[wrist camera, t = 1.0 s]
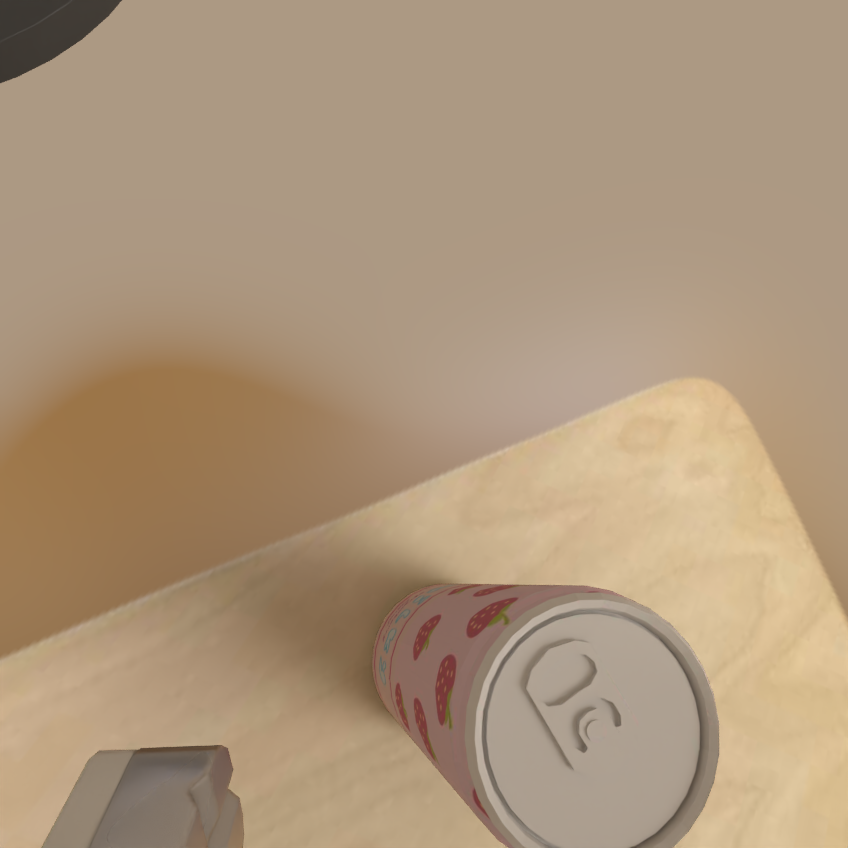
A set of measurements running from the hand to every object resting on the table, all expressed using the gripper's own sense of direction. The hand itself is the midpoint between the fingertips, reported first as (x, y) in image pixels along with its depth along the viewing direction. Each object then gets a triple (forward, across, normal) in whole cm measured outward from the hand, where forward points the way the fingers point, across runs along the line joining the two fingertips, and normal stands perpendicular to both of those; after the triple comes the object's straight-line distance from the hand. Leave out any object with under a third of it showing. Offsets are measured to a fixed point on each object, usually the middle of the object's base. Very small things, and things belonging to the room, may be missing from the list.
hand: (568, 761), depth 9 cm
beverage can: (+17, +2, +12) cm, 21 cm away
